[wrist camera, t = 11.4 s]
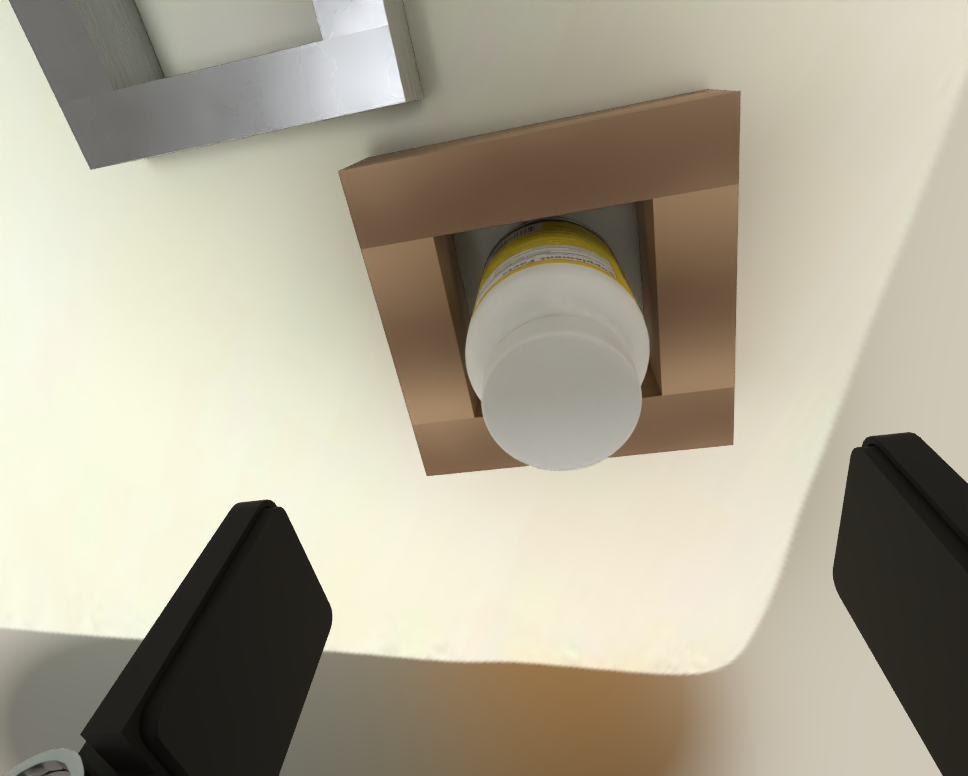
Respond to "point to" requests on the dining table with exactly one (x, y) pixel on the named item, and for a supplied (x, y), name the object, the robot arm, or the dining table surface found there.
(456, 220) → the block
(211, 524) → the dining table surface
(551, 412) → the supplement bottle
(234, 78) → the socket block
